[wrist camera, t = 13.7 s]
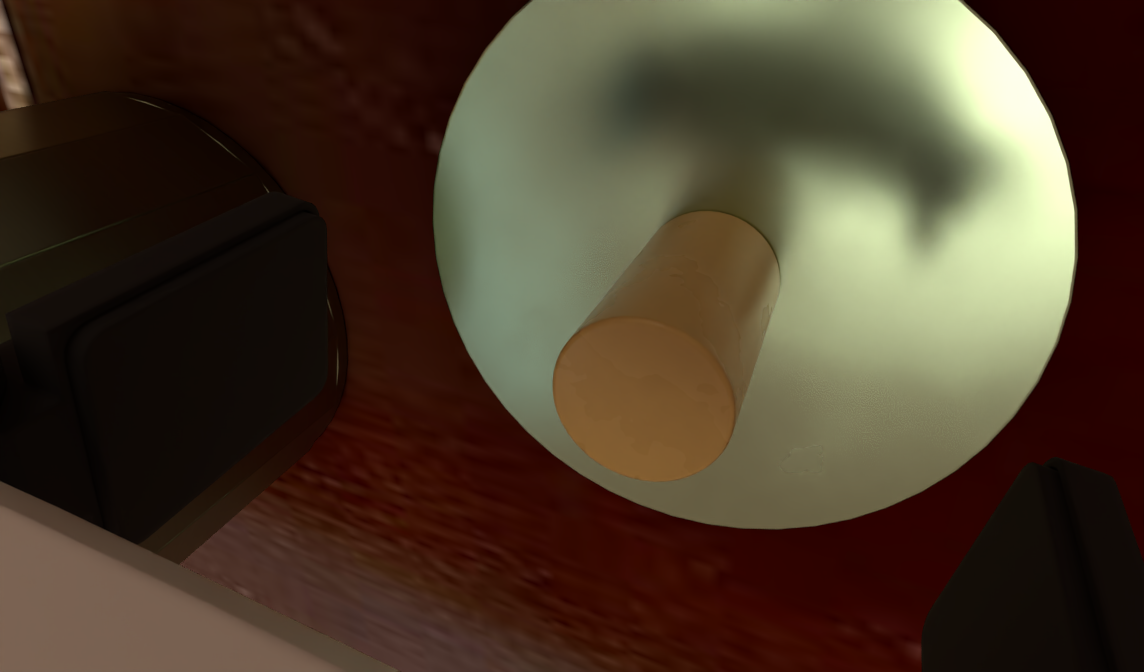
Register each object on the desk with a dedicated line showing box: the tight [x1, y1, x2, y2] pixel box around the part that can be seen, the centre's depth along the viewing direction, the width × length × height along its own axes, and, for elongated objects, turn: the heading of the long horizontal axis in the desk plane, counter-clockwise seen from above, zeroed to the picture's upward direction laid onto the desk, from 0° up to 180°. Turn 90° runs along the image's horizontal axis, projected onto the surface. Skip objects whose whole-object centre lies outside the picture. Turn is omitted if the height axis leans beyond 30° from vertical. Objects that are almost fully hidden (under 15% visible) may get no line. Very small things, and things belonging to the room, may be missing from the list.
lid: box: [433, 0, 1079, 530], centre depth 15 cm, size 14×14×7 cm
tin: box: [0, 91, 347, 565], centre depth 20 cm, size 13×13×10 cm
